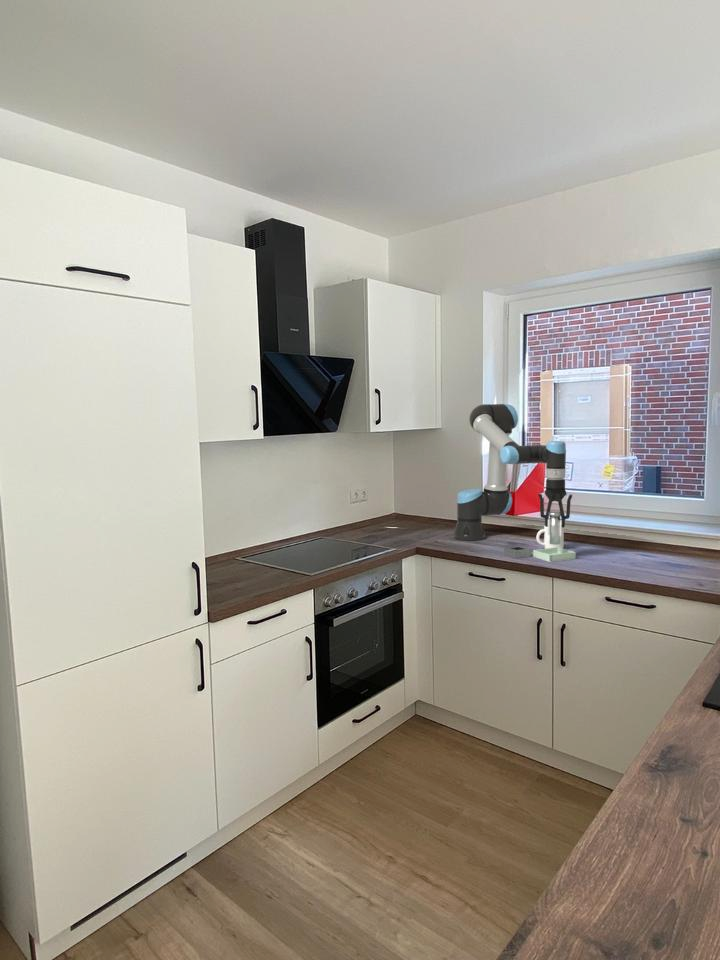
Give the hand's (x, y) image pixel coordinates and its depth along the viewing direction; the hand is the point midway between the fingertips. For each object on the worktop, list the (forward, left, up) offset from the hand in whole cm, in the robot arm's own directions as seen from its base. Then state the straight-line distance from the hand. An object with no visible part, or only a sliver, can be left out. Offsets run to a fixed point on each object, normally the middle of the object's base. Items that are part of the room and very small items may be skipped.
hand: (554, 534), depth 256 cm
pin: (0, 0, -4) cm, 4 cm away
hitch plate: (-10, -11, -10) cm, 18 cm away
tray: (0, 0, -10) cm, 10 cm away
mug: (-15, +10, -10) cm, 20 cm away
